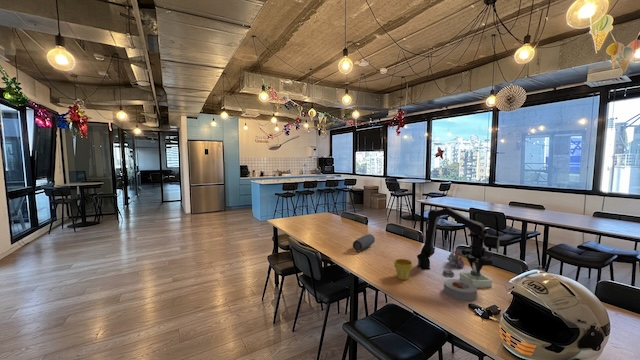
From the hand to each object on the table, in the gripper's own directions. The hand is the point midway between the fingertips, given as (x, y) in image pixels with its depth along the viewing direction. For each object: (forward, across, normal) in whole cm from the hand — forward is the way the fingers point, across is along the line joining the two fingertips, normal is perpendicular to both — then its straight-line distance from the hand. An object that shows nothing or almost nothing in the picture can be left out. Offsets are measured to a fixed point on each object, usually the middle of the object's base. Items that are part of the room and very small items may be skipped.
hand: (475, 271), depth 154 cm
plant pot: (+7, +11, +39) cm, 41 cm away
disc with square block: (+7, +12, +9) cm, 16 cm away
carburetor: (+7, +25, -5) cm, 27 cm away
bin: (+7, 0, 0) cm, 7 cm away
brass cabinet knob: (+2, 0, 0) cm, 2 cm away
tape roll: (+7, -11, +17) cm, 21 cm away
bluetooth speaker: (+7, +64, +48) cm, 80 cm away
